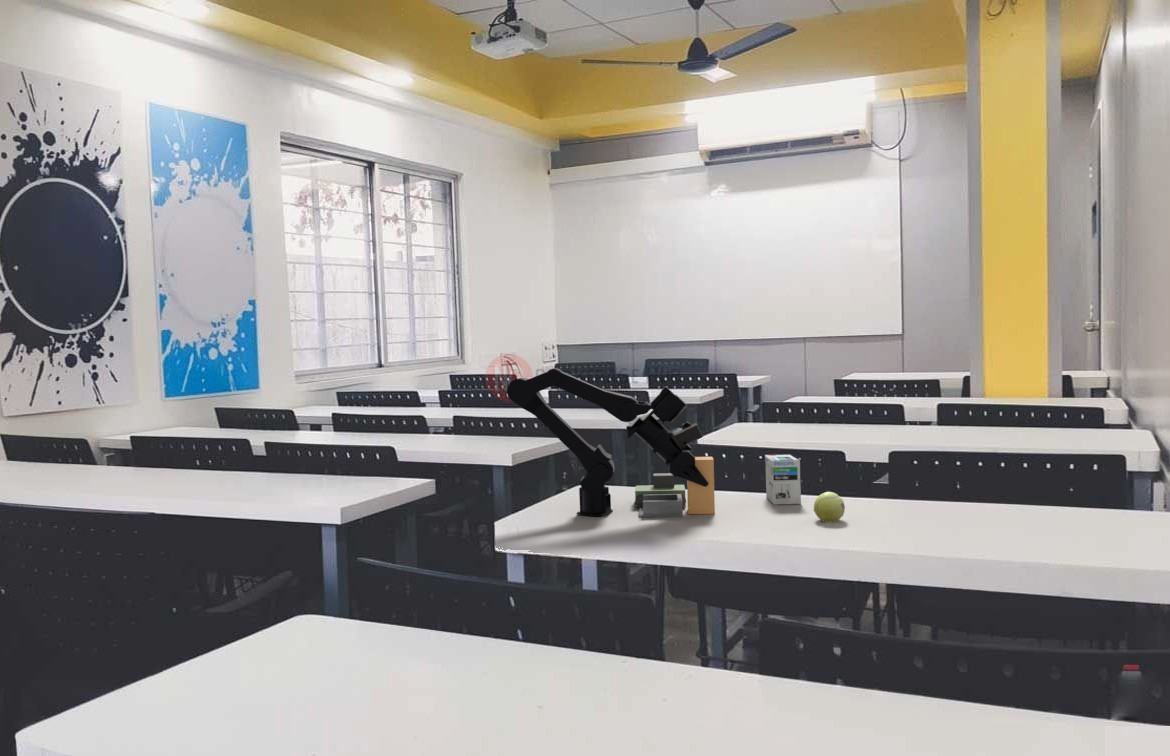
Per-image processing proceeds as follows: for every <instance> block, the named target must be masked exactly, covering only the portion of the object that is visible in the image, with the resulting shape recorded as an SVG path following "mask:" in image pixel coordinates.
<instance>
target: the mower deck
mask: <svg viewBox="0 0 1170 756" xmlns="http://www.w3.org/2000/svg"><path fill="white" fill-rule="evenodd" d="M634 489H635V490H634V497H635V498H634V504H635V508H636V509H637V508H638V509H639V507H643V495H647V494H681V496H682V505H683V508H684V507H685V508H686V505H687V504H686V503H687V499H686V487H685V484H675V477H674V476H673V475H672V474H671V473H670V472H668V473H667V472H666V473H664V472H663V473H653V485H652V484H650V485H649V484H647V485H635V488H634Z"/></svg>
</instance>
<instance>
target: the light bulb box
mask: <svg viewBox="0 0 1170 756" xmlns="http://www.w3.org/2000/svg"><path fill="white" fill-rule="evenodd" d="M764 460H765V461H764V462H765V489H766V490H765V491H766V495H765V496H766V498H767V499H768V500H769V501H770V502H771V503H772V504H773V505H801V504H802V498H801V497H802V492H801V489H802V488H801V487H802V486H801V460H800V459H799V458H796V457H794V456H793V455H791V454H765V455H764Z"/></svg>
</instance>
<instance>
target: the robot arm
mask: <svg viewBox="0 0 1170 756" xmlns="http://www.w3.org/2000/svg"><path fill="white" fill-rule="evenodd" d="M551 387H555V388H558V389H560V390H563V391H565V392H568V393H570V394H572V395H574V396H577V397H578V398H581V399H583V400H585V401H589V402H590V403H592V404H595V405H597V406H599V407H600V408H602V409H603V410H605V411H606V412H607V413H608V414H610V415H612V416H613V417H614V418H616V419H617V420H619V421H620V422H622V423H630V422H633V421H634V420H635V422H634V423H632V425H626V427H625V428H626V430H627V438H628V439H630V438H632V437H633V436H634V434H635V435H636V436H638V438H640V439H641V440H642V441H643V443H645V444H646V445H647V446H649V448H650V449H651V451H652V452H653V453H654V454H657V455H658V456H659V457H660V458H661V459H662V460H663V461H664V462H665V464H666V465H667V466H668V471H669V472H668V473H671V474H672V475H673V476H674V478H676V477H678V478H681V479H683V480H686V481H687V480H689V481H691V482H694V483H697V484H699V485H702V486H704V487H706V486H707V485H708V484H709V483H708V482H707V480H706V479H705V478H704V476H703V475H702V474H701V472H700V471H699V470H698V468H697V467H696V466H695V457H696V456H695V455H694V450H692V447H691V446H690V445H689V443H692V442H694V441H696V440H699V439H702V438H704V436H703V433H702V431H701V429H700V428H699V425H698V423H693V424H691V423H690V422H689V421H686V422H685V423H682V424H681V425H682V429H680V430H679V431H677V432H676V433H674V432H673V431H672V430H668V429H667V428H666V426H664V425H663V424H662V423H664V424H665V423H668V422H669V423H673V421H674V420H675V419H676V418H677V417H678V416H679V415H680V414H681V413H682V412H683V411H684V410H685V409H686V408H687V407H688V404H687V403H685V401H683V399H682V398H680V396H678V395H677V394H675V393H674V392H673V391H672V390H671V389H670V388H668V387H667V386H664V387H663V388H662V389H661V390H660V392H659V394H657V396H656V397H655V398H654V399H653V400H652V401H651V402H648V401H638V400H637V399H636V398H635V397H633V396H631V395H627V394H623V393H619V392H616V391H615V392H614V391H609V390H606V389H603V388H601V387H598V386H596V385H594V384H591V383H588V382H587V381H585V380H582V379H580V378H577V377H576V376H573V375H572V374H569V373H566V372H564V371H562V370H561V369H560V368H557V367H554V368H551V369H549V370H547V371H546V372H543V373H541V374H538V375H535V376H534V377H531V378H527V377H519V378H516V379H514V380H512V381H510V383H508V385H507V389H506V391H507V392H506V393H507V394H506V395H507V397H508V399H509V400H510V401H511V402H512V403H514V404H515V405H516V406H518V407H520V408H521V409H524V410H525V411H526V412H528V413H531V414H532V415H533V416H534V417H536V418H537V419H538V420H539V421H540V422H541V423H542V424H543V425H544V426H545V427H546V428H547V429H548V430H549V431H550V432H551V433H552V434H553V435H554V436H555V437H556V438H557V439H558V440H559V441H560V442H561V443H562V444H563V445H564V446H565V447H566V448H568V450H570V451H571V452H572V453H573V455H575V457H576V458H577V459H578V461H579V463H580V464H581V466H582V467H583V469H584V471H585V472H586V473H584V475H582V476H581V479H580V482H579V485H580V487H579V488H578V490H579V491H578V492H579V493H578V497H579V511H577V512H576V515H579V516H590V517H602V516H604V515H605V516H606V515H608V514H609V513H613V511H614V510H613V509H612V502H611V501H612V496H611V493H610V491H609V489H610V488H609V486H605V484H606V483H607V482H608V481H610V480H611V478H612V477H613V475H614V473H615V463H614V461H613V459H612V457H613V455H612V454H610V453H608V452H606V450H605V449H604V448H603V446H602V444H598V445H597V447H595V446H592V445H591V444H590V443H588V442H587V441H586V440H585V439H584V438H583V437H582V436H581V435H580V434H579V433H578V432H577V431H576V430H574V428H572V426H571V425H570V424H568V423H567V421H565V420H564V419H563V418H562V416H561V415H560V414H558V413H557V412H556V411H555V410H554V409H553V408H552V407H551V406H550V405H549V404H548V403H547V402H546V400H545V399H544V397H543V396H542V393H541V391H543V390H546V389H549V388H551ZM650 410H651V411H650ZM649 411H650V412H649ZM645 414H647V415H646V416H645V417H644V418H641V417H639V418H638V416H642V415H645ZM653 415H655V416H656V417H657V418H658V419H659V420H660V421H661V423H660V421H659V420H658V419H657V418H655V417H654V416H653ZM637 418H638V419H637ZM636 419H637V420H636Z"/></svg>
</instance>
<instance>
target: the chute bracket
mask: <svg viewBox="0 0 1170 756" xmlns="http://www.w3.org/2000/svg"><path fill="white" fill-rule="evenodd" d="M683 508H684V507H683V505H682V496H681V494H647V495H643V507H639V508H638V509H639V510H638V511H639V512H638V518H674V517H675V518H677V517H684V514H683V513H684V510H683Z"/></svg>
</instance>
